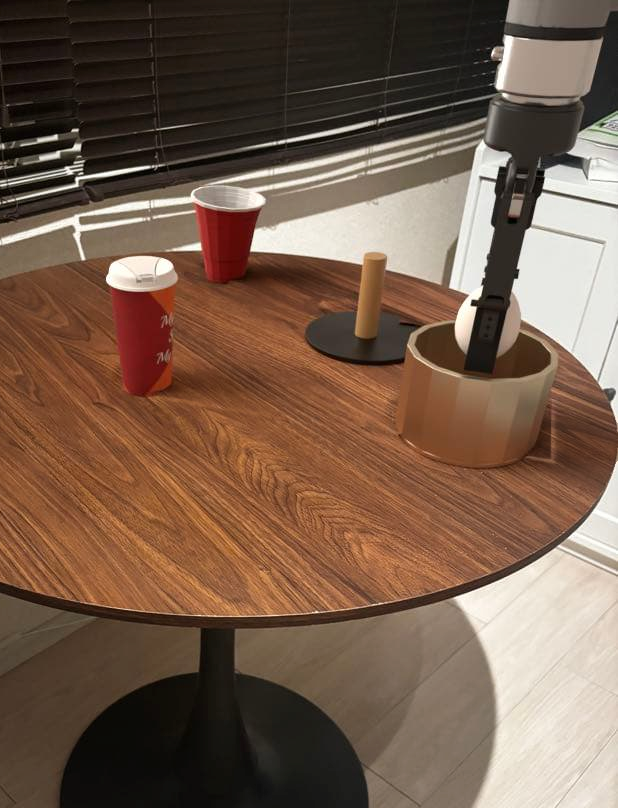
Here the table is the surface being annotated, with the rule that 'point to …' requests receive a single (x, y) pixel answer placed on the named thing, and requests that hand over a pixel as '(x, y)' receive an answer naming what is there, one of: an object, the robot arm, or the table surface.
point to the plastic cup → (226, 228)
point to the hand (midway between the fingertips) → (480, 355)
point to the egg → (467, 318)
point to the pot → (473, 399)
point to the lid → (363, 324)
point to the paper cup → (144, 321)
